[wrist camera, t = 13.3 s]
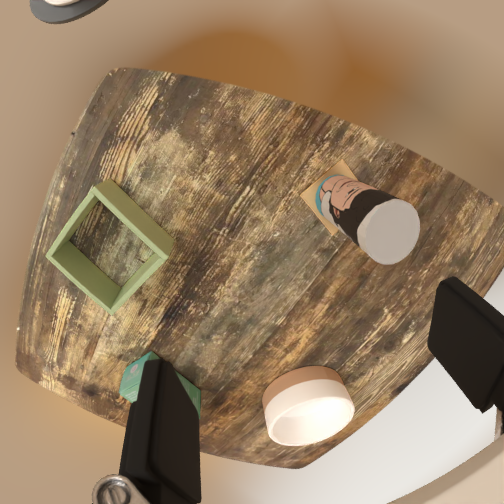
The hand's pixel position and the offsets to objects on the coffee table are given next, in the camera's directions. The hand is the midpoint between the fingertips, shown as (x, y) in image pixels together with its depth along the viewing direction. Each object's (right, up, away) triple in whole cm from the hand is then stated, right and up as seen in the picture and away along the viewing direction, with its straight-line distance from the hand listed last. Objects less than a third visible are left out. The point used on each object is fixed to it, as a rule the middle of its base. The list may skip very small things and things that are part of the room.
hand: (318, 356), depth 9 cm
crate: (-22, +5, +30) cm, 38 cm away
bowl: (+8, -26, +48) cm, 55 cm away
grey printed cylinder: (+10, +11, +32) cm, 35 cm away
